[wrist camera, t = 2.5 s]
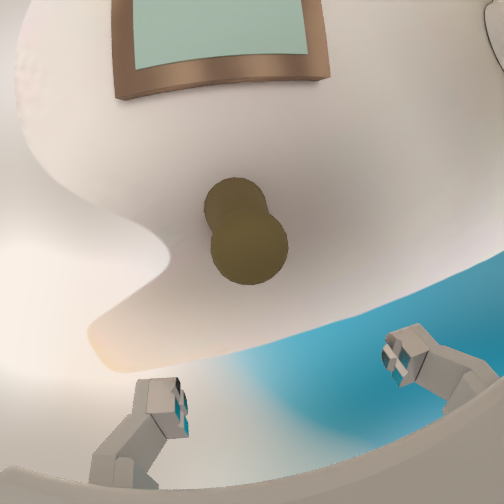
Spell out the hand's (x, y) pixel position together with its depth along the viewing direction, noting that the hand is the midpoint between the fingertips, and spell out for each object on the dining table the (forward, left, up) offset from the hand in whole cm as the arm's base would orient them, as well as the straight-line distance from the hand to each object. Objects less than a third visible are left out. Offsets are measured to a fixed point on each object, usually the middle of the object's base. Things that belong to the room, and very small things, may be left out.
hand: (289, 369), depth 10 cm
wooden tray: (0, -20, -20) cm, 28 cm away
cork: (0, 0, -20) cm, 20 cm away
